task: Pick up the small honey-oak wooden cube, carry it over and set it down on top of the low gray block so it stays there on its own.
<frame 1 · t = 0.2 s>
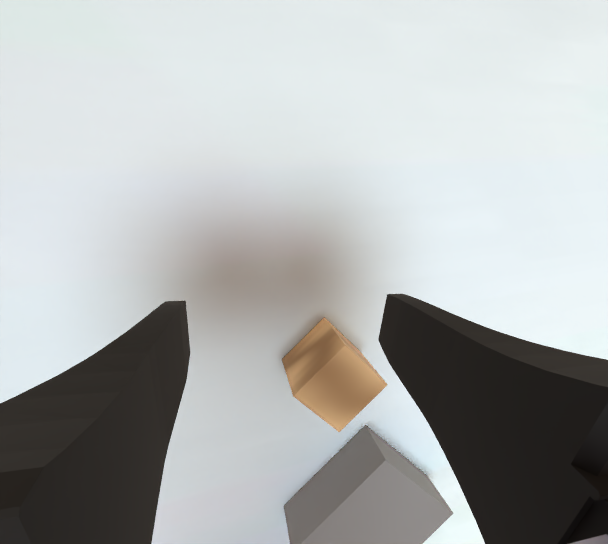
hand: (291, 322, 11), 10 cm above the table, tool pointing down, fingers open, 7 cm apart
gray block: (358, 486, 28), on the table
oak cube: (322, 355, 24), on the table
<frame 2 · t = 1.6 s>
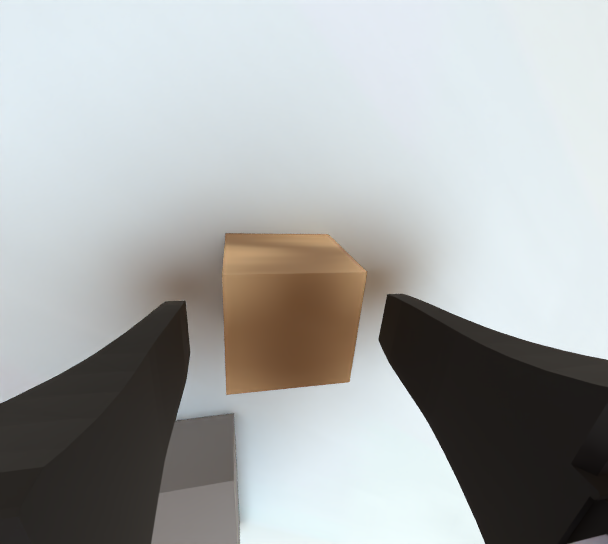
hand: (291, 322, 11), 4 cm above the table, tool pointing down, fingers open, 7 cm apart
gray block: (149, 483, 18), on the table
oak cube: (276, 280, 14), on the table
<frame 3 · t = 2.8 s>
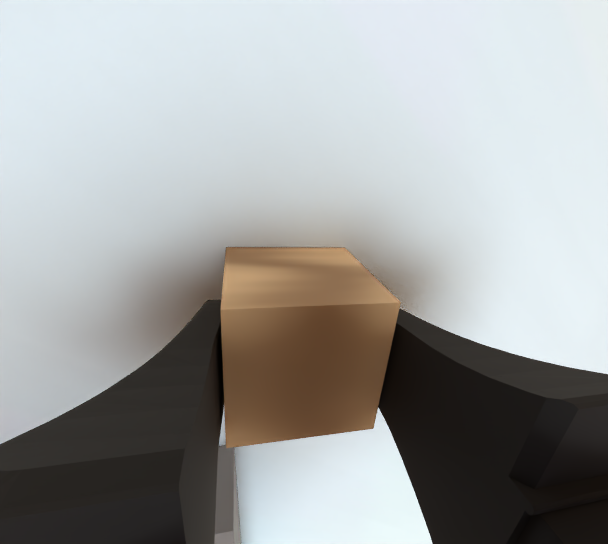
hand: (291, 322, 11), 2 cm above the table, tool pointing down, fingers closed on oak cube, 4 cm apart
gray block: (142, 519, 16), on the table
oak cube: (285, 300, 12), on the table, touching gripper
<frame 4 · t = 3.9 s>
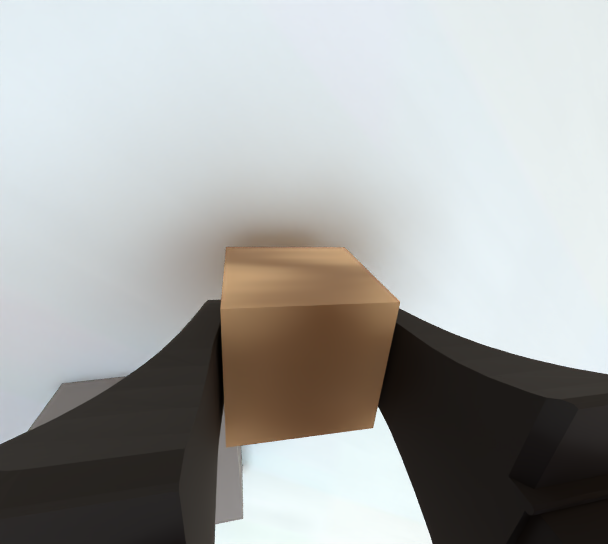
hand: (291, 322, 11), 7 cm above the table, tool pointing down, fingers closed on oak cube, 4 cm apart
gray block: (165, 426, 21), on the table
oak cube: (284, 300, 12), point 6 cm above the table, touching gripper
when the fingers open (6 cm above the table, at t = 6.4 s): oak cube drops 1 cm, point 4 cm above the table.
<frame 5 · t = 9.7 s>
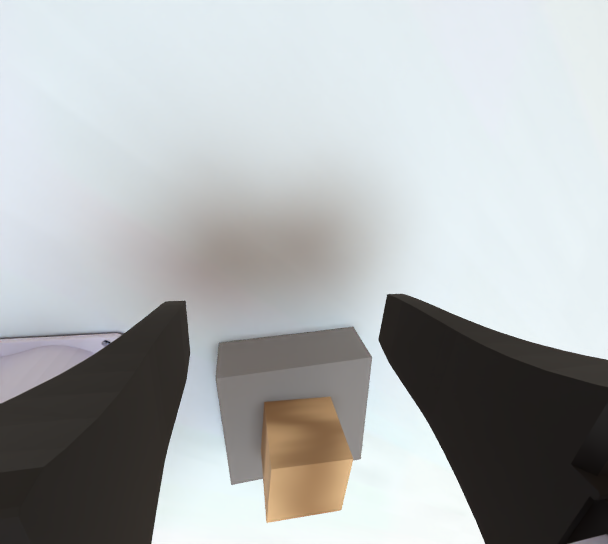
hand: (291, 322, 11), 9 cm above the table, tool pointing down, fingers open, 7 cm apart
gray block: (289, 383, 25), on the table
oak cube: (295, 423, 21), point 4 cm above the table
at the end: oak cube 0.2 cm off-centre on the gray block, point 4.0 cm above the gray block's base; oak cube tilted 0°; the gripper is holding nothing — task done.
